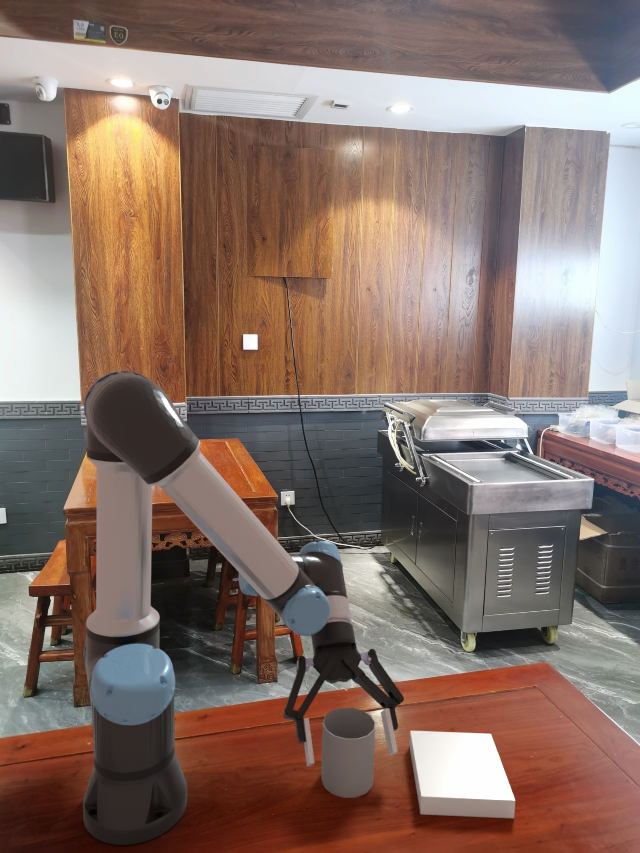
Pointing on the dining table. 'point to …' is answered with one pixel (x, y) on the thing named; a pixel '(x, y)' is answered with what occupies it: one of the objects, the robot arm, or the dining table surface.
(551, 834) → the dining table surface
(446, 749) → the raised board
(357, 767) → the cup
